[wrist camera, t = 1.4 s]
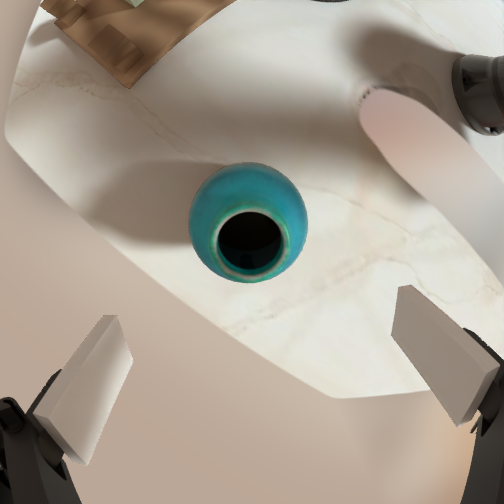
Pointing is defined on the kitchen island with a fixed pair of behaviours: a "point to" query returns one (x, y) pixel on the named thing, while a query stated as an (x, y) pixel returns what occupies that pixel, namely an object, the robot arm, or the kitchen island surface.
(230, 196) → the vase
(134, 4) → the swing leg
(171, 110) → the kitchen island surface
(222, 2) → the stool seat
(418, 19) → the kitchen island surface
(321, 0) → the planter
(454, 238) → the kitchen island surface
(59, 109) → the kitchen island surface
